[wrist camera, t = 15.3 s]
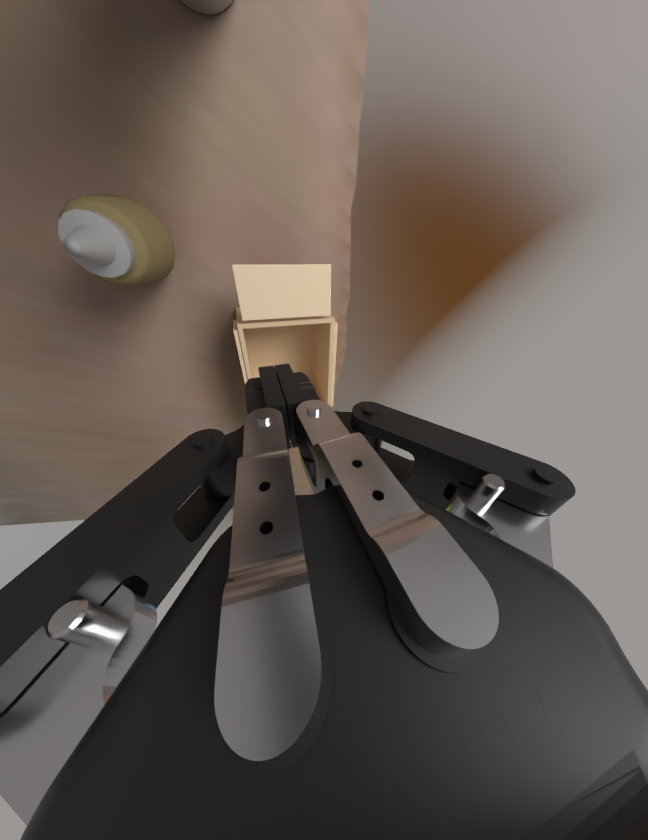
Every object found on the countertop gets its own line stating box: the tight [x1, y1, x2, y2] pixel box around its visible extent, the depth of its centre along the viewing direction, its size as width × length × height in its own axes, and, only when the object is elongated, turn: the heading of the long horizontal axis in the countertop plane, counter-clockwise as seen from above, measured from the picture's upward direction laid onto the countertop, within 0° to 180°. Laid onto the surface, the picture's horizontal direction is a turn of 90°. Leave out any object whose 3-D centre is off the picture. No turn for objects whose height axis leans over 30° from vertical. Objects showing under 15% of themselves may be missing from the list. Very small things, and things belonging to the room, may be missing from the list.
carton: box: [233, 307, 338, 406], centre depth 41 cm, size 17×15×10 cm
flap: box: [232, 264, 331, 321], centre depth 30 cm, size 1×12×6 cm
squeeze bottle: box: [57, 195, 175, 285], centre depth 23 cm, size 8×8×18 cm
